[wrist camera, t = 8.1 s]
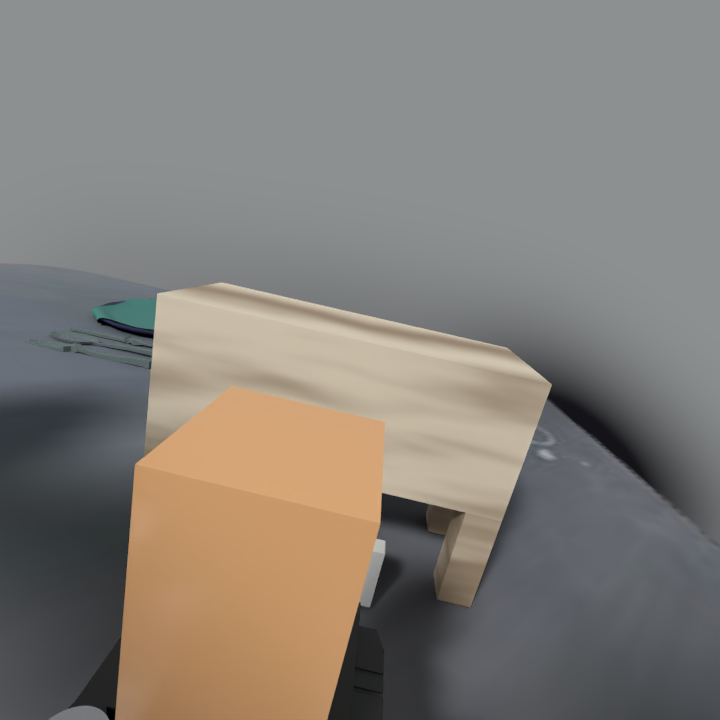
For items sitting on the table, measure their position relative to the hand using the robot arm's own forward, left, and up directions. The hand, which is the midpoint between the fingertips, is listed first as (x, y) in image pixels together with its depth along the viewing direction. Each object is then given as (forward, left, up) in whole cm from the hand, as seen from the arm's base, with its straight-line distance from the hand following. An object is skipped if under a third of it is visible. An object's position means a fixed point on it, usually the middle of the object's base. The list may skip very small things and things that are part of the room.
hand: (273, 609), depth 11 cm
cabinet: (-6, +14, -9) cm, 17 cm away
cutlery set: (-49, +31, -10) cm, 59 cm away
